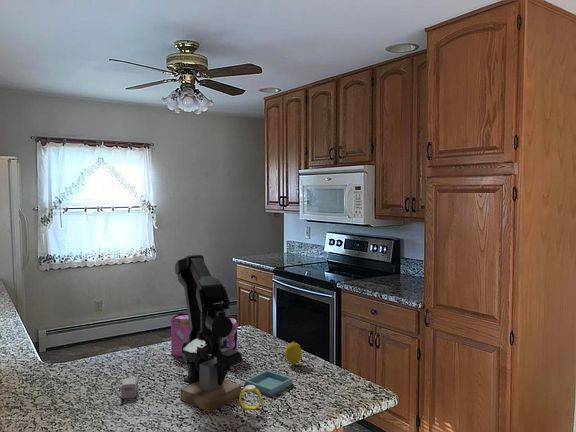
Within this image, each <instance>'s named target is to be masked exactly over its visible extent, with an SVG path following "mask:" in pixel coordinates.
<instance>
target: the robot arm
mask: <svg viewBox="0 0 576 432" xmlns="http://www.w3.org/2000/svg"><path fill="white" fill-rule="evenodd" d="M174 272H175V275H176V276H177V281H178V282H179V283H180V284H181V285H182V287H183V288H184V295H185V303H186V311H187V313H188V319H189V326H190V333H189V335H188V338H187V340H186V342H185V343H184V344H183V346H182V353H183V356H182V359H183V362H184V363H185V364H186V365H187V376H186V377H184V378H183V381H185V382H188V383H189V384H193V383H195V382H197V381H200V364H201V363H203V362H206V361H208V360H211V359H214V357H217V363H216V364H214V366H215V367H216V368H217V379H218V385H219V386H220V385H222V383H223V381H224V380H226V379H225V378H226V377H227V374H228V372H229V370H230V369H231V367H232V366H235V365H236V364H238V363H241V362H242V356H243V355H242V353H241V352H240V351H238V350H237V351H236V350H232V349H229V350H226V351H224V352H222V351H221V349H223V348H224V344H221V338H224V337H226V336H228V335H229V334H230V333H231V331H232V328H233V324H232V321H231V320H230V319H229V318H228V317H227V316H228V315H226V311H225V310H230V306H229V305H230V303H231V301H230V299H229V296H228V292H227V290H226V287H225V286H224V285H223V283H222V282H221V281H220V279H218V278H216V277H213V276H212V273H211V272H210V270H209V268H208V266H207V265H206V262H205V259H204V255H203V254H189V255H186V256H185V257H184V258H180V259H179V260H177V261H176V263H175V265H174Z"/></svg>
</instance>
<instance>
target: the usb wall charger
mask: <svg viewBox="0 0 576 432" xmlns="http://www.w3.org/2000/svg"><path fill="white" fill-rule="evenodd" d="M138 389H139V378H138V377H127V378H124V379H123V381H122V383H121V387H120V397H121V399H132V398H133V399H134V398H136V396H137V393H138V391H139V390H138Z"/></svg>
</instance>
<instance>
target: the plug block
mask: <svg viewBox="0 0 576 432" xmlns="http://www.w3.org/2000/svg"><path fill="white" fill-rule="evenodd" d="M216 363H217V360H216V359H211V360H208V361H206V362H203V363H201V364H200V389H203V390H205V391H208V392H211V391H213V390H215V389H217V388H219V387H222V385H220V386H219V385H218V379H217V368H216V367H215V366H214V364H216Z"/></svg>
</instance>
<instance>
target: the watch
mask: <svg viewBox="0 0 576 432" xmlns="http://www.w3.org/2000/svg"><path fill="white" fill-rule="evenodd" d="M245 392H249V393H251V392H255V393H257V395H258V397H259V402H258V404H256V405H246V404H245V403H244V402H243V400H242V396H243V394H244V393H245ZM262 397H263V395H262V393H260V391H259V390H258V389H256V388H255V386H254V385H248V386H246V387H245V386H244V388H243V389H241V393H240V396H239V397H238V402H239V405H240V406H241V407H242V409H244V410H257V409H258V408H259V407H260V406H261V404H262V401H263V398H262Z"/></svg>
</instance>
